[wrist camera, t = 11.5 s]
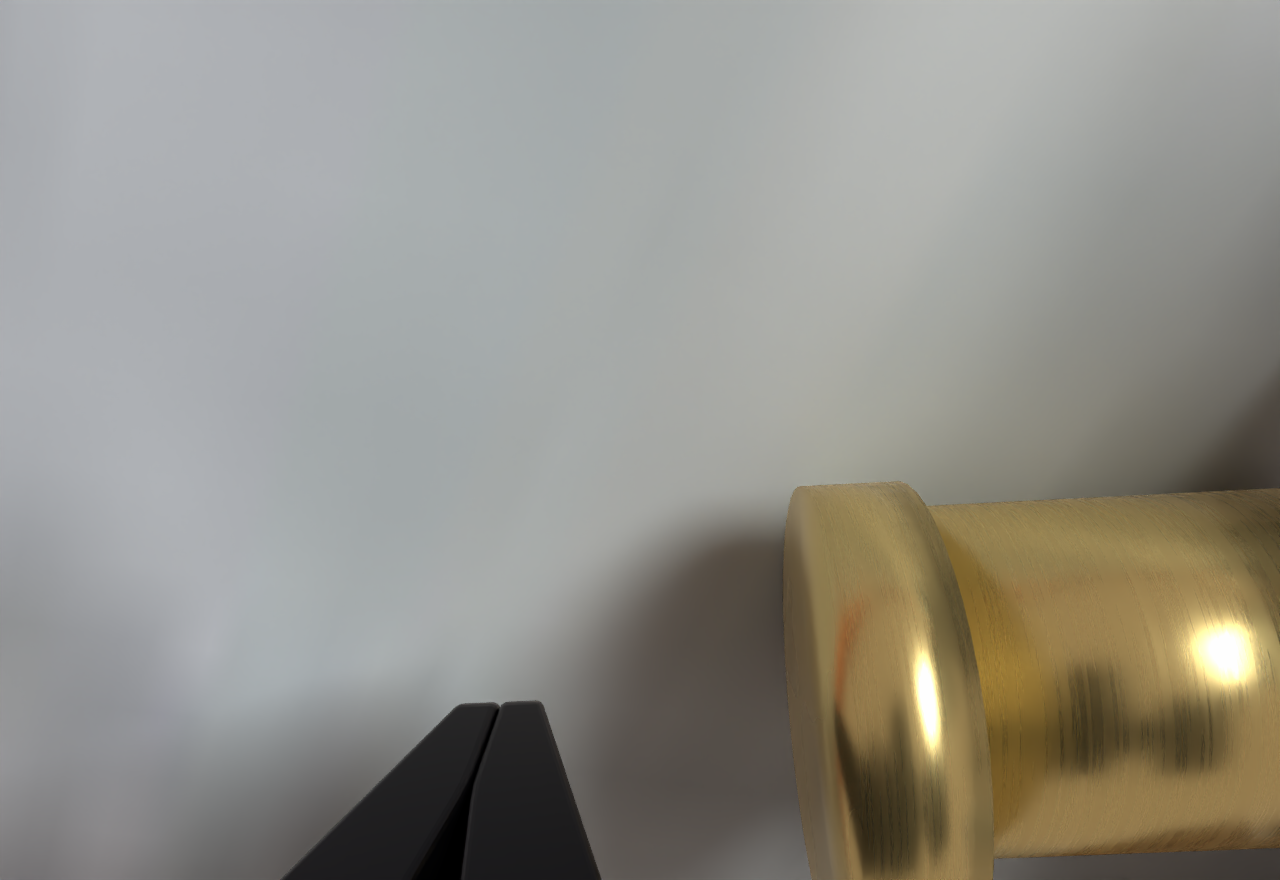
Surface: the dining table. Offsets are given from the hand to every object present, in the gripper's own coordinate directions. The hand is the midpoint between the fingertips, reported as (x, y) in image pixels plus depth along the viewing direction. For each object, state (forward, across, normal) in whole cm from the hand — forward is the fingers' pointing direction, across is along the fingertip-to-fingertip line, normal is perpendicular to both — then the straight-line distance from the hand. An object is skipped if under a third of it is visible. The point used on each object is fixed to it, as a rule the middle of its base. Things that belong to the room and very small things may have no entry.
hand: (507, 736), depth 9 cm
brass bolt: (+3, -7, 0) cm, 7 cm away
